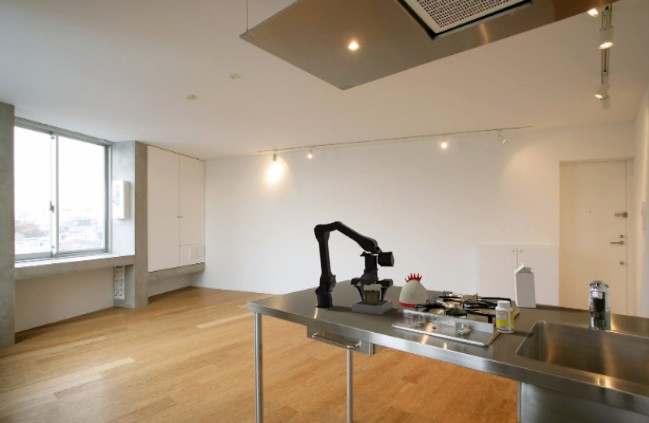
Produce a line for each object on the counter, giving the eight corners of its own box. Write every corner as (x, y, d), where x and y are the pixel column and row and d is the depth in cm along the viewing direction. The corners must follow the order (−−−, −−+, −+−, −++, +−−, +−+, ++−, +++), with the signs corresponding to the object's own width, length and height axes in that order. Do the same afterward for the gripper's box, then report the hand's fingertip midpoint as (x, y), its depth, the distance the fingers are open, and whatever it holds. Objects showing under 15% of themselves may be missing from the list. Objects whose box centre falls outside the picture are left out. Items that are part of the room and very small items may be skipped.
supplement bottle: (509, 328, 124) (508, 299, 125) (517, 333, 119) (516, 303, 119) (493, 329, 125) (492, 300, 125) (501, 333, 119) (499, 303, 119)
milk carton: (517, 307, 154) (515, 264, 155) (515, 304, 161) (513, 262, 162) (536, 308, 151) (533, 264, 152) (533, 304, 158) (530, 262, 159)
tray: (352, 312, 156) (351, 304, 156) (364, 305, 168) (364, 298, 168) (382, 315, 149) (381, 306, 149) (392, 307, 161) (392, 300, 161)
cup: (380, 310, 154) (379, 291, 154) (363, 310, 155) (363, 291, 156) (381, 306, 161) (380, 288, 162) (365, 306, 163) (364, 288, 163)
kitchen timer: (432, 307, 160) (431, 274, 161) (402, 308, 160) (401, 275, 161) (424, 300, 174) (423, 270, 175) (397, 301, 174) (395, 271, 175)
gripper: (344, 268, 157) (346, 303, 156) (384, 269, 148) (386, 306, 147) (355, 265, 166) (356, 298, 166) (393, 266, 157) (394, 301, 157)
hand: (372, 301), depth 158 cm, fingers open, 9 cm apart
